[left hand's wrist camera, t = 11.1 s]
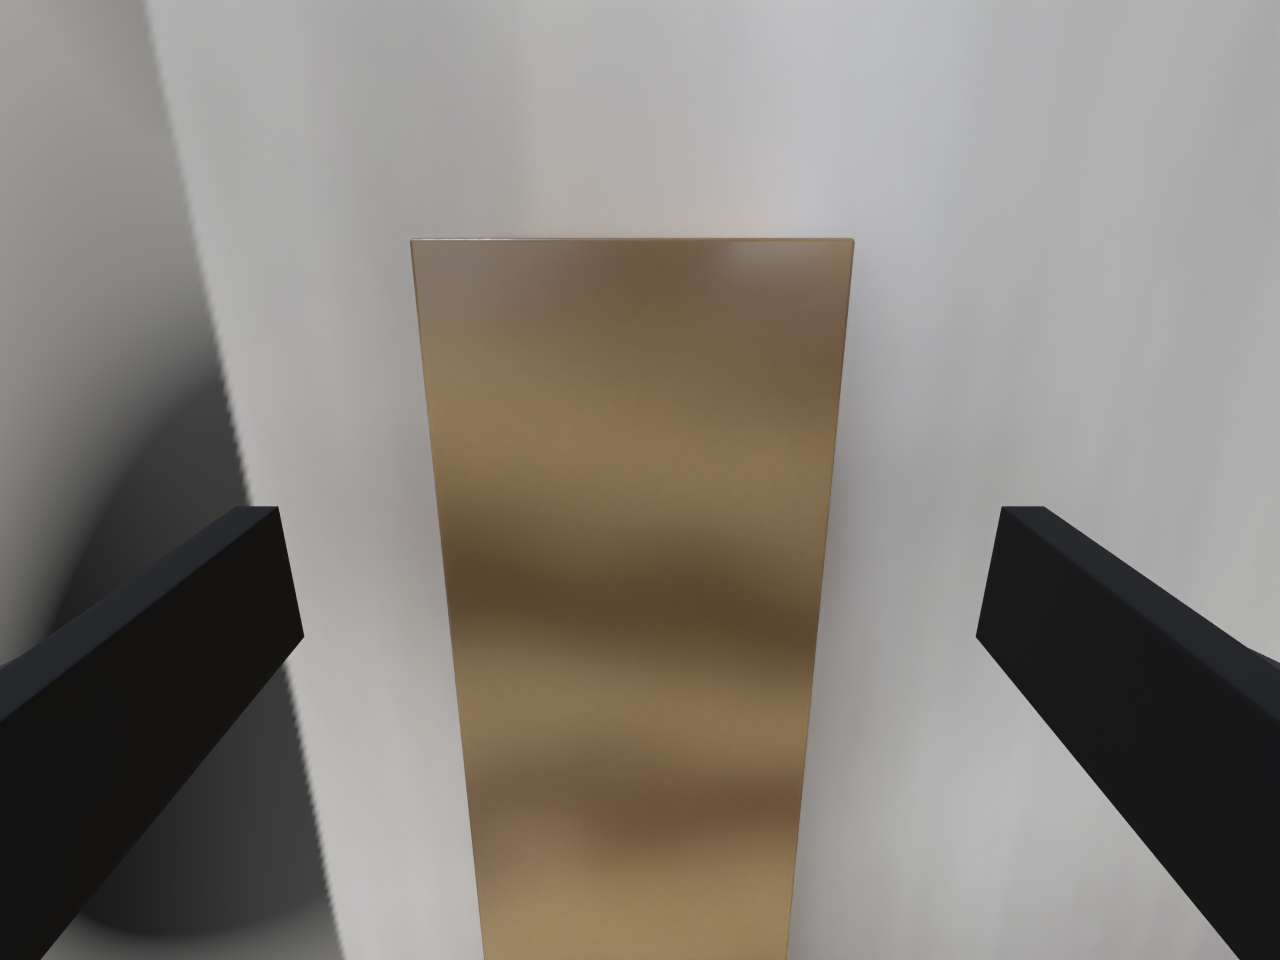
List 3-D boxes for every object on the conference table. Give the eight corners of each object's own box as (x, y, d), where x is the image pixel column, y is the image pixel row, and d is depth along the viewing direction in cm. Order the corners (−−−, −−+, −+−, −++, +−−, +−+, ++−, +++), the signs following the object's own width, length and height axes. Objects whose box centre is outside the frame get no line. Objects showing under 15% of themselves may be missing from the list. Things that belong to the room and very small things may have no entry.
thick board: (477, 240, 21) (408, 238, 15) (786, 240, 21) (856, 237, 15) (547, 1205, 38) (530, 1410, 31) (724, 1201, 38) (744, 1405, 31)
